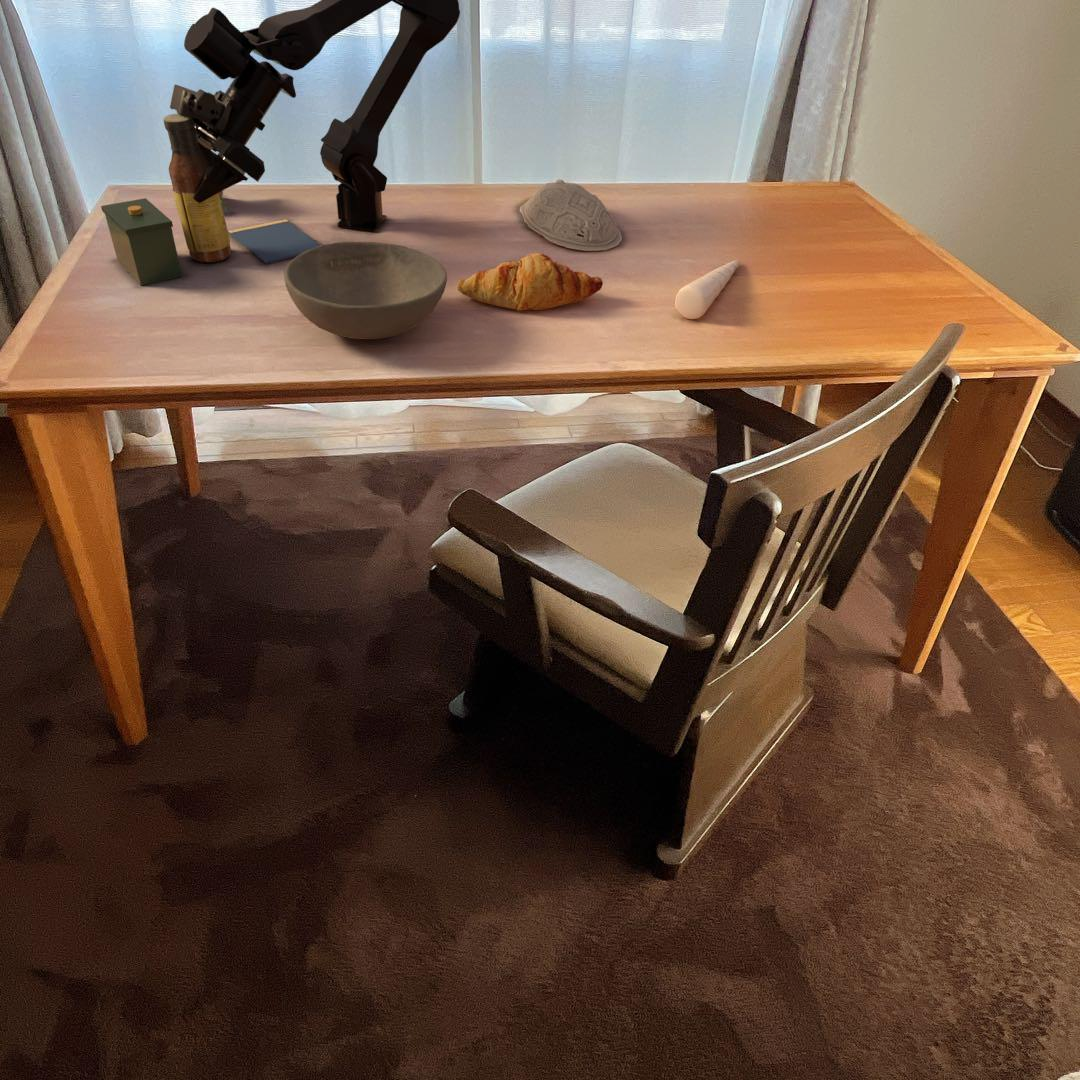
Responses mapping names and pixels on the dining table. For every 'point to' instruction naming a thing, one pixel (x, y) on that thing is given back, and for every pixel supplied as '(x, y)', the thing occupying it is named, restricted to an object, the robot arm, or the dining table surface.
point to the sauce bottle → (186, 172)
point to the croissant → (530, 284)
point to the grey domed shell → (578, 204)
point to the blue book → (274, 240)
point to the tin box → (143, 240)
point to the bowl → (365, 288)
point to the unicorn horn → (703, 291)
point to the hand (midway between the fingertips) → (187, 193)
